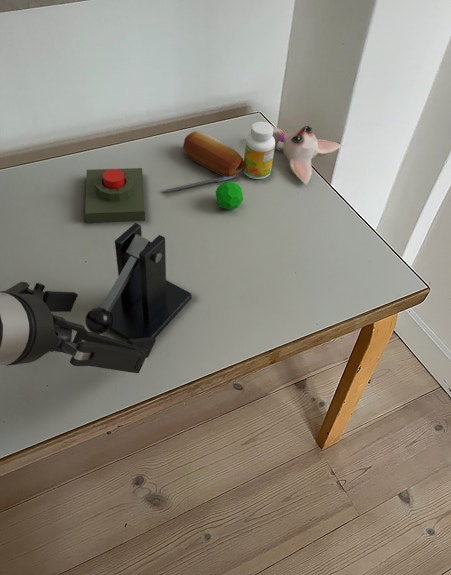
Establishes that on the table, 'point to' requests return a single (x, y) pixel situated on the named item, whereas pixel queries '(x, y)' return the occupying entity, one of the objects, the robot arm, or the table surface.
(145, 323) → the switch bracket
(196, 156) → the hot dog
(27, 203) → the table surface
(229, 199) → the polyhedron
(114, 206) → the control box
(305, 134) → the toy dog
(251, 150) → the supplement bottle
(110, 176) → the button
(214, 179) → the pen
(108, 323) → the lever
